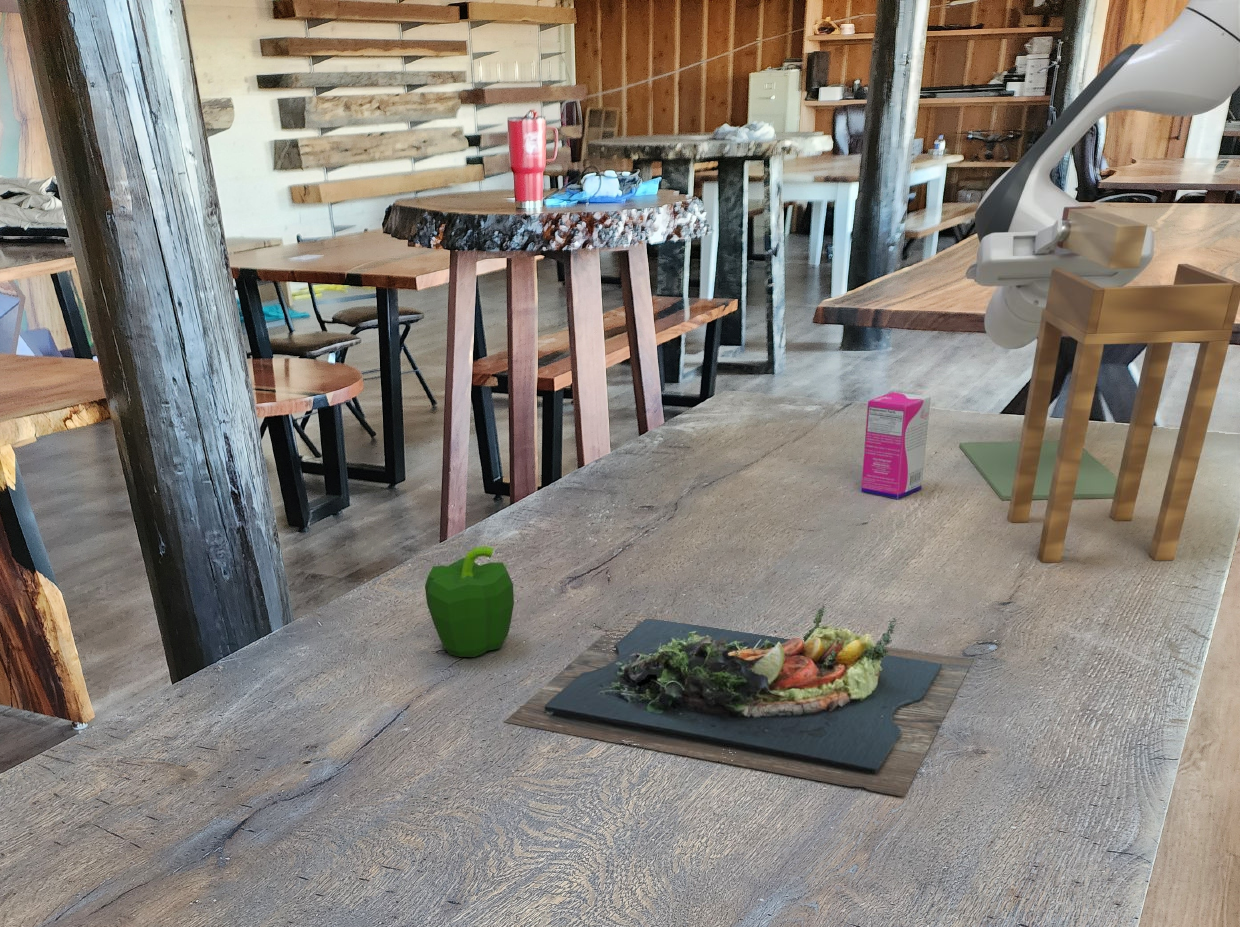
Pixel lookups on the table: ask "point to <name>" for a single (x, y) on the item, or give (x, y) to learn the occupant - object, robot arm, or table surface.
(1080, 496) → the rubber mat
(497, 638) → the bell pepper
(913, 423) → the supplement box
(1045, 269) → the robot arm
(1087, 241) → the maple bar
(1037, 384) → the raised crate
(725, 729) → the plated dish
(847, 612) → the table surface
